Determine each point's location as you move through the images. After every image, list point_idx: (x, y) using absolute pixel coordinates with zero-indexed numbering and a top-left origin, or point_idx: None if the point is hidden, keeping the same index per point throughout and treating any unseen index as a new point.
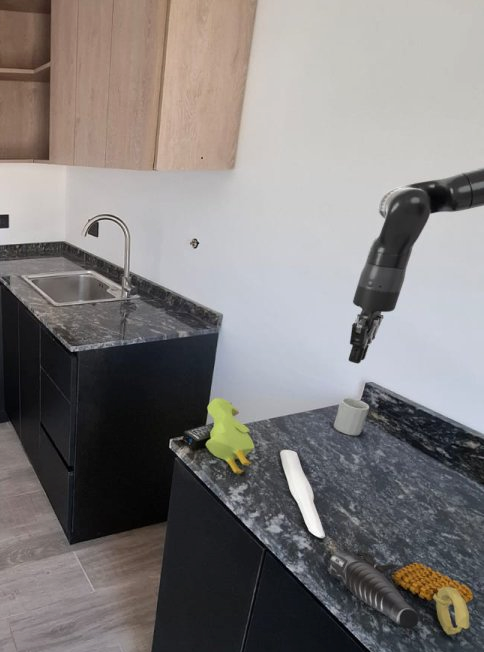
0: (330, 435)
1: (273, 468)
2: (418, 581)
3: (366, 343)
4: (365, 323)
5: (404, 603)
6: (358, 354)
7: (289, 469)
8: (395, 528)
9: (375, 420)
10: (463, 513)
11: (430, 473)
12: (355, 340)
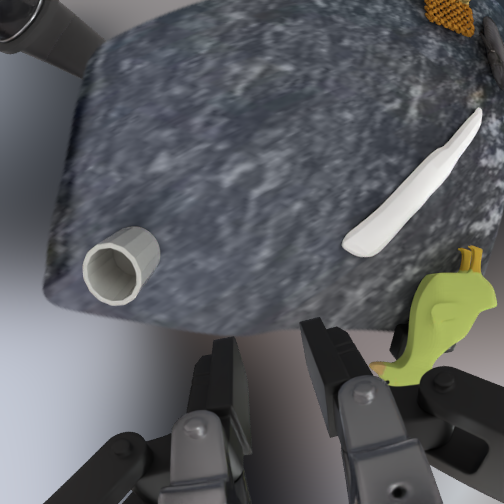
0: (196, 252)
1: (412, 233)
2: (465, 15)
3: (356, 411)
4: None
5: (493, 26)
6: (361, 356)
7: (414, 211)
8: (378, 48)
9: (51, 245)
10: (229, 3)
11: (144, 80)
12: (448, 437)
